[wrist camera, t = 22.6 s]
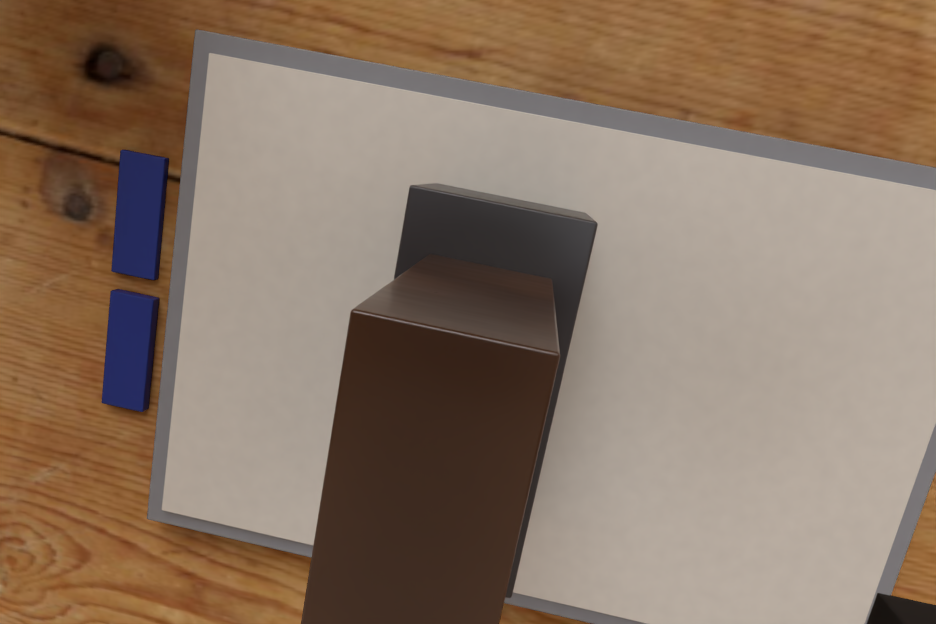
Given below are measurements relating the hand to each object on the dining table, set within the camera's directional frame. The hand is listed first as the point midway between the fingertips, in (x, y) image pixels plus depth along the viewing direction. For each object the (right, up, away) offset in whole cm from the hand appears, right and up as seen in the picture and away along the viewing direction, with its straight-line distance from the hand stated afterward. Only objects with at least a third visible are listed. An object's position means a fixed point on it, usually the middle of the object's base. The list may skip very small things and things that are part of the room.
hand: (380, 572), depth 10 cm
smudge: (-10, +2, +13) cm, 17 cm away
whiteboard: (+4, +2, +12) cm, 13 cm away
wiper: (+2, +2, +11) cm, 12 cm away
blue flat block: (-9, +7, +13) cm, 17 cm away
